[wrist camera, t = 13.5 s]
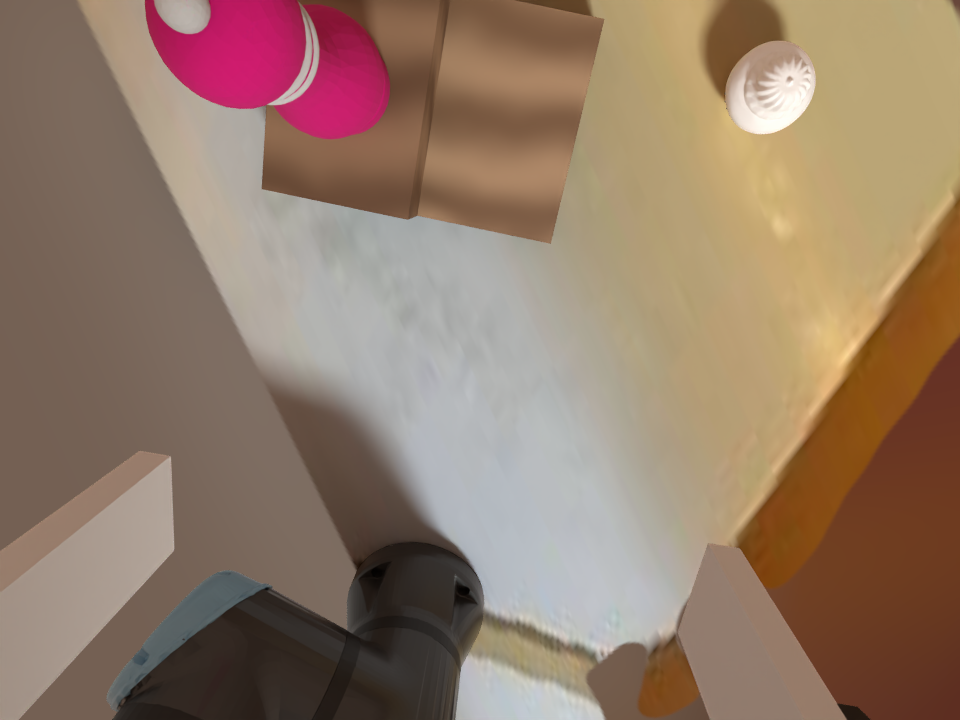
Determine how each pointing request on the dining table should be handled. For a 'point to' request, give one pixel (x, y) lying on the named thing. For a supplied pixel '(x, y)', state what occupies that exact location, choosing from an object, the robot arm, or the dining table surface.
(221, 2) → the pepper mill
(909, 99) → the dining table surface
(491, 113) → the step stand
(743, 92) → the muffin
